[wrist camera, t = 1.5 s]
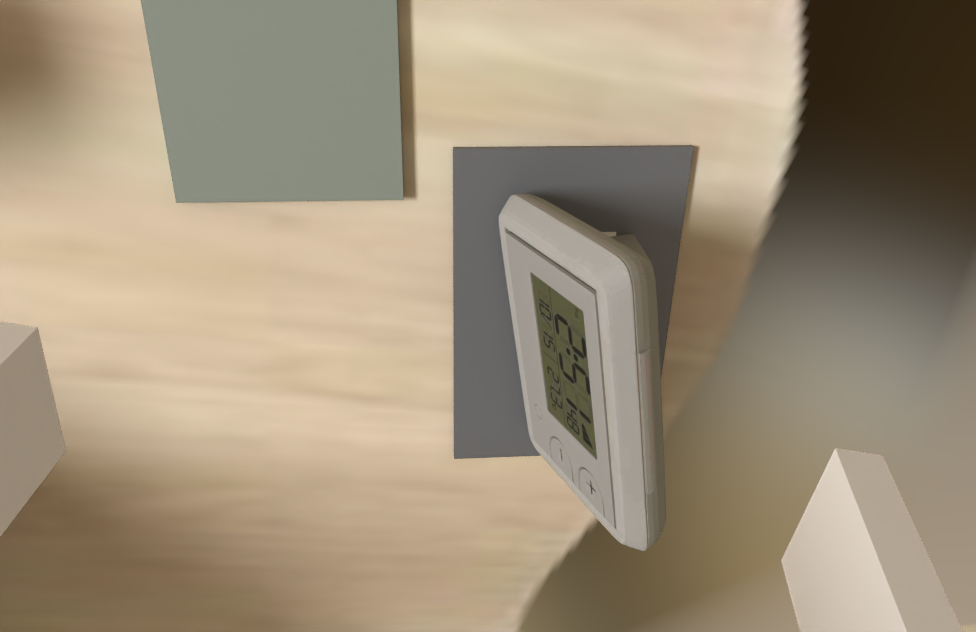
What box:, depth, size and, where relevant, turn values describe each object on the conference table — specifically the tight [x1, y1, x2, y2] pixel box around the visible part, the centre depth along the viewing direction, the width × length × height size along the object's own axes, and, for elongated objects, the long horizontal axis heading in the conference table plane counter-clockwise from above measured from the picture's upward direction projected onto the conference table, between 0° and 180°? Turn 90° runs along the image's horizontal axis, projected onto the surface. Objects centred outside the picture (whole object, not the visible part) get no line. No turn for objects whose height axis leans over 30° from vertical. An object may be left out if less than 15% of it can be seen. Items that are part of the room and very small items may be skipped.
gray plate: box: [453, 145, 693, 459], centre depth 45 cm, size 19×12×1 cm, turn 179°
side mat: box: [141, 0, 404, 203], centre depth 36 cm, size 18×11×1 cm, turn 179°
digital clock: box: [499, 193, 666, 551], centre depth 40 cm, size 16×9×11 cm, turn 176°
